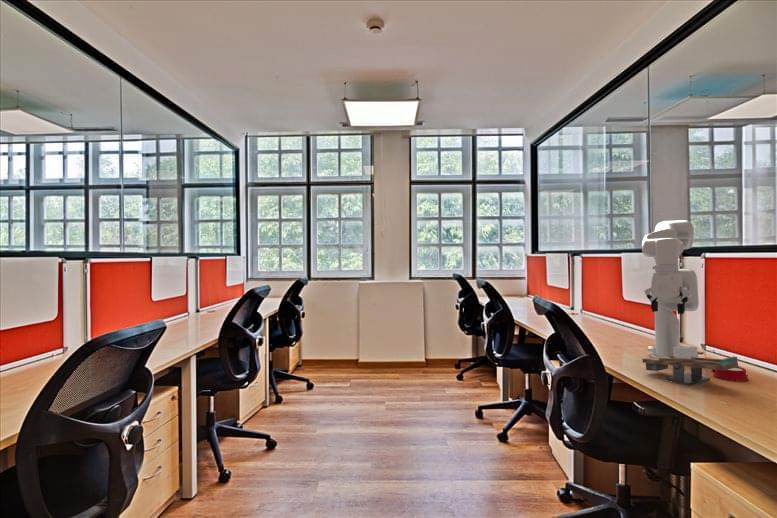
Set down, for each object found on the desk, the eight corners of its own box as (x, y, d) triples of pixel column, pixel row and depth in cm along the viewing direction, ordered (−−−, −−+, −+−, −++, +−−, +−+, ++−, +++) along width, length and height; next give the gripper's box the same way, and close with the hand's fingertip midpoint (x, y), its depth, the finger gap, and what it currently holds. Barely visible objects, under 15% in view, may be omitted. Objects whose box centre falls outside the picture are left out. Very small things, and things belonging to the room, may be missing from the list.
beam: (643, 370, 168) (641, 353, 169) (658, 367, 173) (656, 351, 174) (725, 379, 144) (722, 360, 144) (739, 375, 148) (736, 356, 149)
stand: (665, 380, 159) (664, 362, 159) (687, 375, 166) (686, 357, 166) (688, 386, 152) (688, 367, 152) (710, 380, 159) (710, 361, 159)
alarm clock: (718, 371, 158) (707, 354, 171) (717, 386, 159) (706, 368, 173) (753, 374, 154) (739, 356, 167) (752, 389, 155) (738, 371, 168)
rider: (674, 360, 160) (672, 347, 161) (681, 358, 163) (679, 345, 163) (691, 362, 155) (689, 348, 156) (698, 360, 158) (696, 346, 158)
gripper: (639, 269, 172) (640, 311, 172) (685, 269, 157) (686, 315, 157) (650, 269, 176) (650, 310, 175) (696, 269, 160) (697, 314, 160)
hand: (667, 312), depth 166 cm, fingers open, 9 cm apart
